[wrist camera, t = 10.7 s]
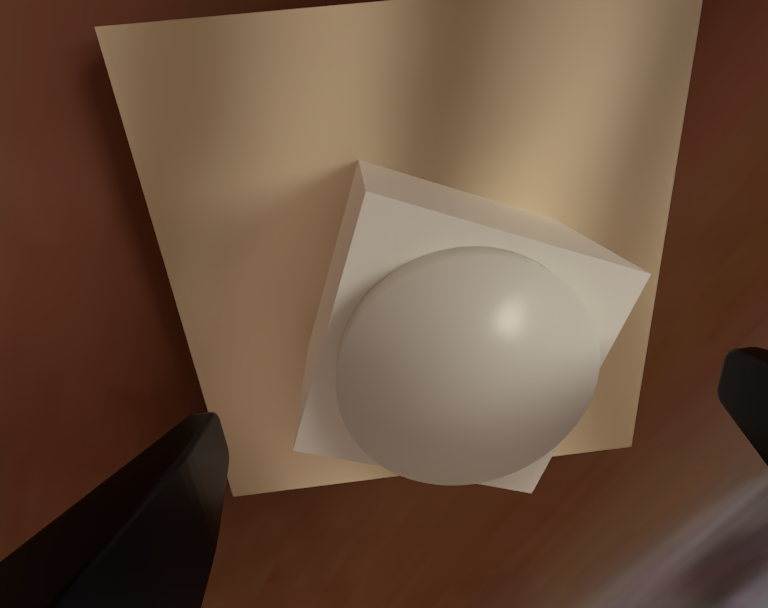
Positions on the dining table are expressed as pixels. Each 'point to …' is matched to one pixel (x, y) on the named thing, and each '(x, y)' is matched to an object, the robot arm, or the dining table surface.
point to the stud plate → (393, 151)
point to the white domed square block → (456, 334)
